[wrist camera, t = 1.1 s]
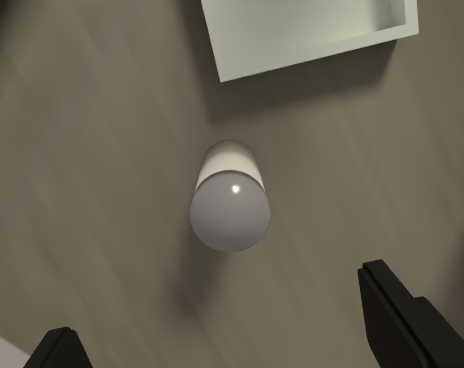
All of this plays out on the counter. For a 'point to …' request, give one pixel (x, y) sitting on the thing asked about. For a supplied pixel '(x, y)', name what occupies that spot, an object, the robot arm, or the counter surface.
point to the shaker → (229, 199)
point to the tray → (299, 30)
